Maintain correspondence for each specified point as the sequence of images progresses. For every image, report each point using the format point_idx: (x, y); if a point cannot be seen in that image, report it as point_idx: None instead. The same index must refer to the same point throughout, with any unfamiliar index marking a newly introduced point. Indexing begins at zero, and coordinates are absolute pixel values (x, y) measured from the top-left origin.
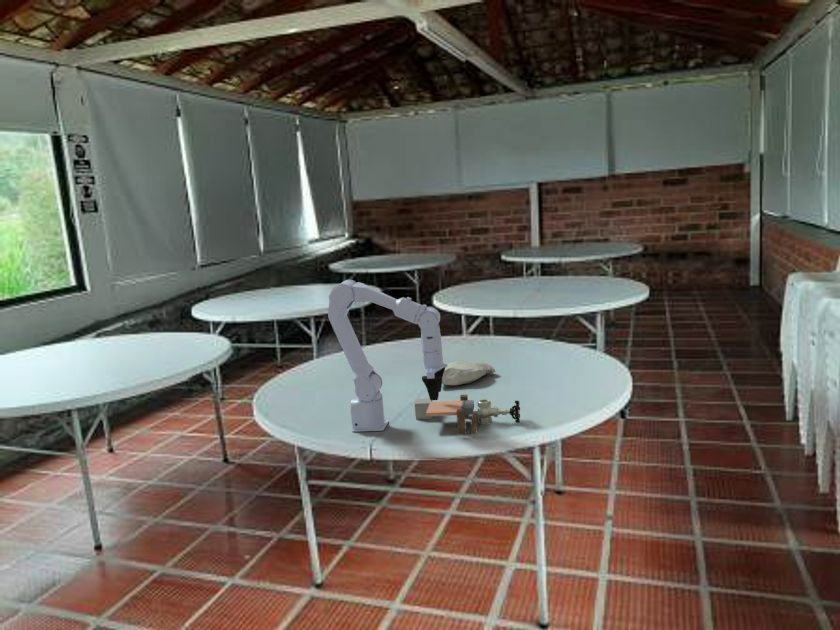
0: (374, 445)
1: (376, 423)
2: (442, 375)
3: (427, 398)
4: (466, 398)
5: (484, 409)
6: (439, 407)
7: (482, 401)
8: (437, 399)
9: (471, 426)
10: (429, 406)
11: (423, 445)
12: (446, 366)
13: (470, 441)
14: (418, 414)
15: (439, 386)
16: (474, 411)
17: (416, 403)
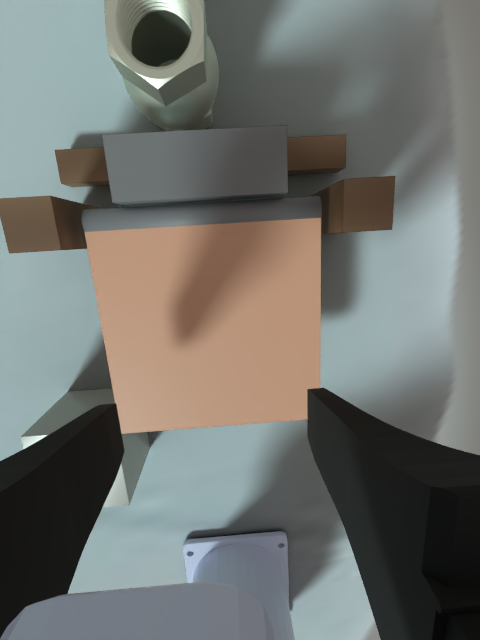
0: None
1: (278, 578)
2: (14, 484)
3: None
4: (58, 202)
5: (208, 51)
6: (227, 362)
7: (127, 51)
8: (327, 390)
9: (304, 164)
10: (208, 421)
11: (446, 358)
12: (239, 625)
13: (437, 159)
14: (142, 450)
15: (97, 434)
16: (66, 174)
17: (123, 497)
